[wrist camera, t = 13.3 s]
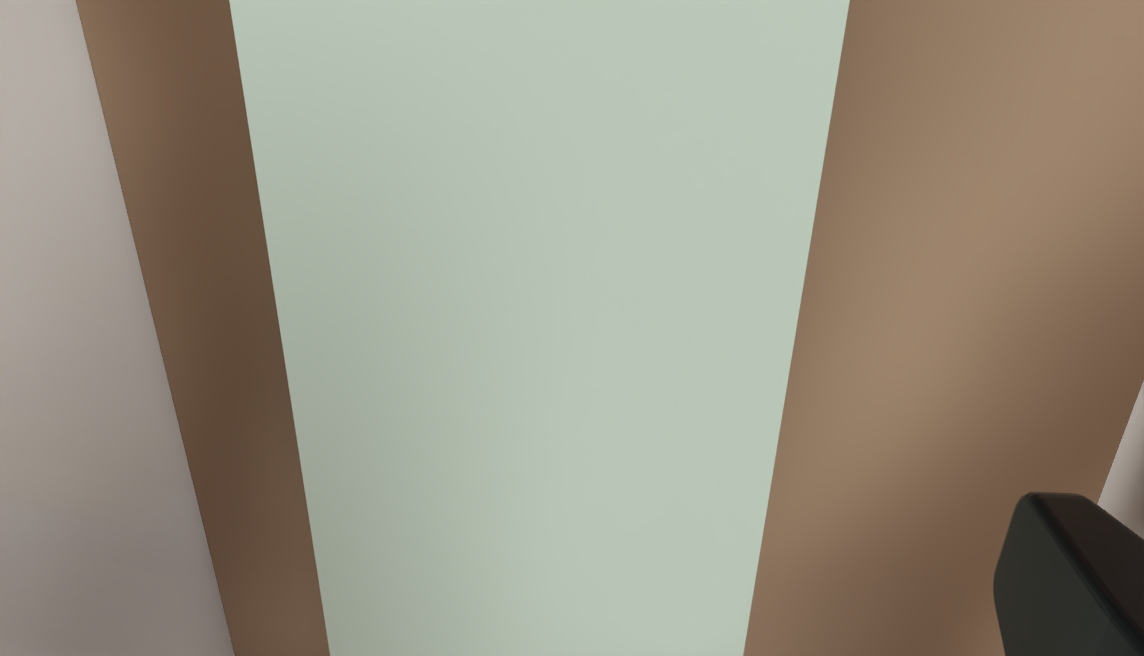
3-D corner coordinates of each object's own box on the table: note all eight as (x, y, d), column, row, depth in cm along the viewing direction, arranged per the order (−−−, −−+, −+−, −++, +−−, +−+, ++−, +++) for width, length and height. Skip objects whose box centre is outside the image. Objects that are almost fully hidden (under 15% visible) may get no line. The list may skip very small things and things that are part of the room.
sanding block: (436, 524, 17) (361, 853, 12) (377, -382, 10) (162, -431, 6) (686, 536, 16) (707, 875, 12) (786, -372, 10) (916, -415, 5)
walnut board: (278, 677, 21) (255, 741, 20) (-143, -1302, 8) (-286, -1481, 7) (971, 712, 21) (994, 781, 19) (1666, -1352, 8) (1866, -1552, 6)
